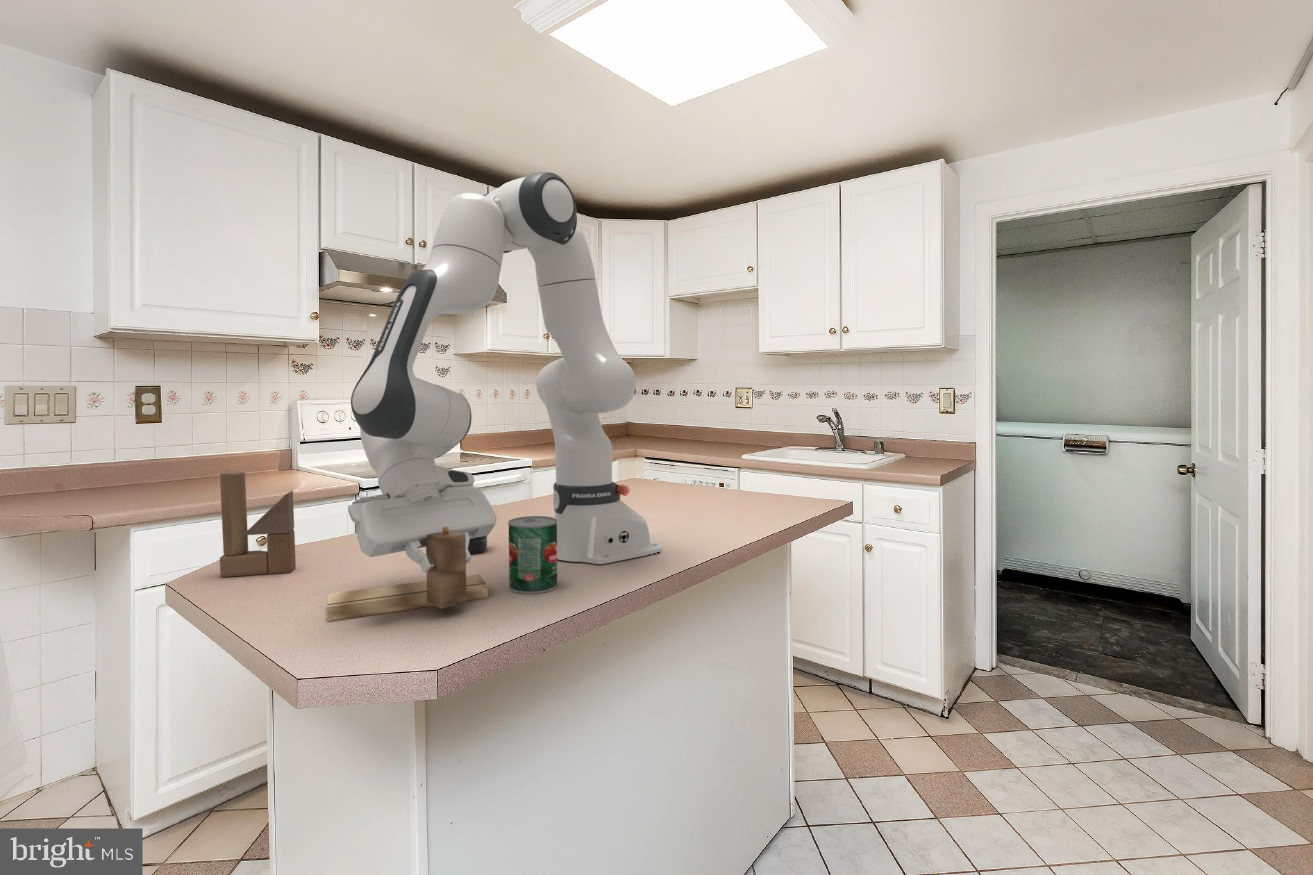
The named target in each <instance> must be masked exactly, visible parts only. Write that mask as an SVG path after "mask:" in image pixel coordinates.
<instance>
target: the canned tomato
mask: <svg viewBox="0 0 1313 875" xmlns="http://www.w3.org/2000/svg"><path fill="white" fill-rule="evenodd" d="M507 524H508V574H509V575H508V581H509V585H508V589H509V590H510V591H511V592H513V593H516V594H521V595H522V594H523V595H536V594H544V593H548V592H551V591H553V590H555V589H556V588H557V587H558V585H559V584H558V559H557V519H555V517H552V516H545V515H543V516H542V515H528V516H527V515H526V516H519V517H515V518H511V519H509V520H508V521H507Z"/></svg>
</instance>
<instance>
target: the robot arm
mask: <svg viewBox="0 0 1313 875" xmlns="http://www.w3.org/2000/svg"><path fill="white" fill-rule="evenodd" d="M575 200H576V199H575V197H574V193H573V192H572V190H571V188H570V186H569V185H568V184H567V182H566V180H564V178H562V177H561V176H560V175H558V174H556V173H554V172H549V171H540V172H539V171H538V172H533V173H530V174H527V176H523V177H519V178H516V179H511V181H507V182H505V183H504V184H502V185H501V186H499V187H497V188H495V189H493V191H491V192H487V193H485V194H480V193H475V192H462V193H459V194H457V195H454V196H453V197H452V198H450V200H449V202H448V204H446V207H445V210H444V212H443V213H442V216H441V218H440V221H439V223H438V226H437V229H436V233H435V236H434V239H433V243H432V245H431V246H432V247H431V251H430V255H429V258H428V260H427V263H426V264H425V266H424V267H423V268H422V269H418V270H415V271H413V272H412V273H411V274H410V275H409V276H408V277H407V278H406V280H405V281H404V282H403V284H402V286H401V288H400V290H399V292H398V294H397V297H396V299H395V301H394V303H393V305H392V308H391V310H390V313H389V315H388V317H387V320H386V322H385V324H384V327H383V330H382V332H381V335H380V337H379V338H378V339H379V340H378V341H377V344H376V346H375V349H374V351H373V353H372V356H371V358H370V360H369V363H368V364H367V367H366V368H365V370H364V371H363V373H362V375H361V376H360V378H359V379H358V381H357V382H356V385H355V386H354V388H353V390H352V394H351V397H350V407H351V411H352V414H353V418H354V419H355V421H356V423H357V425H358V427H359V431H360V439H361V444H362V447H363V450H364V453H365V456H366V459H367V461H368V463H369V466H370V467H371V469H372V470H373V471H374V472H375V474H376V475H377V485H378V487H379V490H380V493H382V494H377V495H371V496H359V497H356V498H355V500H353V501H351V502H350V503H349V504H348V506H347V511H348V514H349V516H350V519H351V521H352V522H353V523H354V524H355V529H356V536H357V540H358V544H359V547H360V551H361V552H362V554H364V555H365V556H367V557H369V558H374V557H379V556H380V557H381V556H384V555H390V554H396V553H402V552H405V554H406V556H407V557H408V558H409V559H411V560H412V561H413V562H414V563H416V564H418V565H419V567H420V570H421V572H422V573H423V574H427V572H432V571H434V570H435V568H436V567H437V563H436V561H434V557H433V555H431V556H427V555H426V552H424V551H423V550H422V548H426V537H427V534H433V533H439V532H443V527H448V529H449V531H451V530H454V531H457V532H460V533H464V534H465V536H466V565H468V564H469V563H470V562H471V560H472V555H470V553H469V551H468V545H469V539H471V538H476V537H482V536H487V537H488V535H490V533H492V530H494V527H495V526H496V524H497V515H496V512H495V511H494V509H493V507H492V505H491V503H490V501H489V500H488V498H487V496H486V495H485V494H484V492H483V491H482V490H481V489H480V488H478V487H477V486H474V483H475V477H474V475H473V474H472V473H470V472H467V471H461V470H456V469H452V468H451V469H450V468H446V467H443V466H440V465H437V464H436V461H435V460H436V459H438V458H440V457H443V456H444V455H446V454H447V453H449V452H450V451H451V450H452V449H454V448H455V447H456V446H457V445H459V444H460V443H461V442H462V441H463V440H464V439H465V438H466V437H467V434H468V433H469V432H470V429H471V426H472V420H473V419H472V418H473V417H472V416H473V415H472V409H471V406H470V403H469V401H468V399H467V398H466V397H465V396H464V395H463V394H461V393H459V392H457V391H454V390H453V389H450V388H447V387H444V386H441V385H439V384H435V383H432V382H430V381H427V380H424V379H421V378H419V377H416V374H414V369H413V368H414V364H415V362H416V359H417V356H418V353H419V352H420V349H421V346H422V344H423V343H422V342H423V340H424V338H425V336H426V333H427V330H428V328H429V325H430V324H431V322H432V321H433V320H434V319H435V318H436V317H438V316H439V315H465V314H468V315H469V314H473V313H476V312H478V311H480V310H483V309H484V308H486V307H487V306H488V305H489V304H490V303H491V302H492V301H493V299H494V296H495V295H496V291H497V290H498V287H499V286H498V285H499V281H500V275H501V272H502V265H503V258H504V254H508V253H511V252H513V251H519V250H525V249H527V251H528V252H529V254H530V255H531V257H532V259H533V261H534V264H535V275H536V277H535V278H536V283H537V287H538V288H537V289H538V295H539V300H540V305H541V311H542V312H541V313H542V317H543V318H542V319H543V324H544V327H545V330H546V332H547V333H548V334H549V335H550V336H551V337H552V338H553V339H554V341H555V343H556V345H557V347H558V348H559V350H560V354H561V356H562V358H559V359H556V360H553V361H552V362H550V363H548V364H546V365H545V366H543V367H542V369H541V370H540V371H539V373H538V375H537V377H536V384H535V385H536V390H537V394H538V396H539V398H540V399H541V401H542V402H543V404H544V405H545V408H546V411H547V414H548V418H549V422H550V426H551V429H552V435H553V440H554V449H555V450H554V451H555V452H554V453H555V482H554V484H553V493H552V503H553V510H554V518H555V519H557V560H559V561H565V562H572V563H573V562H574V563H575V562H577V563H587V564H593V565H604V564H609V563H610V564H611V563H615V562H619V561H624V560H625V561H626V560H629V559H634V558H639V557H645V556H650V555H655V554H658V553H657V552H659V553H661V550H662V548H661V544H659V543H658V542H657V541H656V540H654V539H652V538H651V537H650V531H649V526H648V523H647V521H646V519H645V518H644V517H643V516H642V515H640V514H639V513H638V512H637V511H635V510H634V509H633V508H632V507H630V506H629V505H627V504H626V503H625V502H624V501H623V500H621V495H622V496H625V497H626V496H628V495H629V494H630V491H631V489H630V487H629V486H628V485H625V484H618V483H616V482H614V481H613V445H612V441H611V440H610V438H609V436H607V434H606V433H605V431H604V429H603V425H602V423H601V419H600V415H599V414H607V413H610V412H615V411H617V410H621V409H622V408H625V407H626V406H627V405H628V404H630V402H631V401H632V399H633V397H634V395H635V392H636V385H637V384H636V382H637V381H636V375H635V372H634V370H633V369H632V367H631V365H629V363H627V362H626V361H625V360H624V359H623V358H622V357H621V356H620V355H619V353H618V351H617V349H616V347H615V346H614V344H613V341H612V339H611V337H610V335H609V332H608V330H607V328H606V324H605V321H604V317H603V314H602V309H601V303H600V297H599V291H598V284H597V278H596V274H595V267H594V263H593V260H592V259H593V258H592V256H591V252H590V248H589V246H588V243H587V239H586V237H585V235H584V232H583V231H582V230H581V228H580V227H578V226H577V224H578V216H577V215H578V214H577V205H576V201H575ZM654 553H655V554H654ZM649 554H650V555H649Z"/></svg>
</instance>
